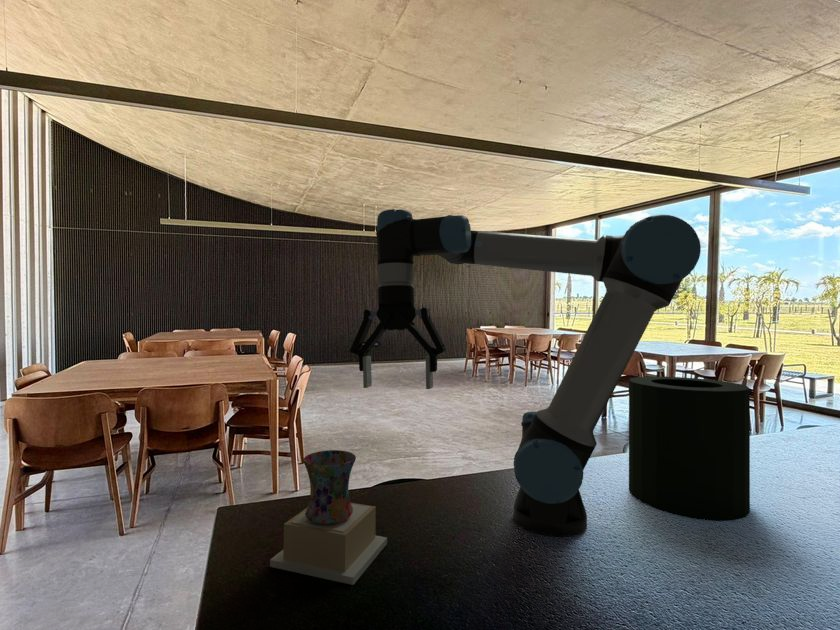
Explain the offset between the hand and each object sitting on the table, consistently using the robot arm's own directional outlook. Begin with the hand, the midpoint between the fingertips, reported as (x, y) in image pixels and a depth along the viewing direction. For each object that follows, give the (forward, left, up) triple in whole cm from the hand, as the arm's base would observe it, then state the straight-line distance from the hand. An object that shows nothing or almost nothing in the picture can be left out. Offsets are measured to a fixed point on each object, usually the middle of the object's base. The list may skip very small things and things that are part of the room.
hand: (397, 387), depth 92 cm
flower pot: (-61, -38, -29) cm, 77 cm away
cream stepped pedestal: (+7, +14, -29) cm, 33 cm away
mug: (+8, +14, -22) cm, 27 cm away
